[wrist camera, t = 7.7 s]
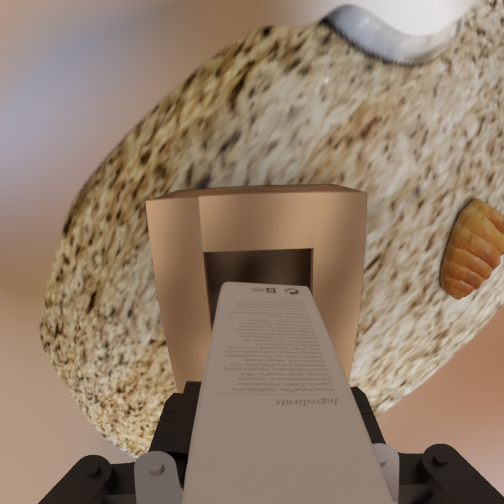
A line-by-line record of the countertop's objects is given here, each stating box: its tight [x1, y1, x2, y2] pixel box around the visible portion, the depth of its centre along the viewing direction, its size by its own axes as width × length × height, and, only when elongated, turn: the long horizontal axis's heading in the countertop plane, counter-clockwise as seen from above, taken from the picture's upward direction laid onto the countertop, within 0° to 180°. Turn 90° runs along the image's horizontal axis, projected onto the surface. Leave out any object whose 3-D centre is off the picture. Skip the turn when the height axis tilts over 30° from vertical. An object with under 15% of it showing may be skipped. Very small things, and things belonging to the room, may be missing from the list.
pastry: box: [440, 199, 504, 300], centre depth 22 cm, size 9×7×4 cm
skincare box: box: [181, 282, 393, 504], centre depth 9 cm, size 6×4×12 cm
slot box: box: [146, 184, 367, 393], centre depth 21 cm, size 12×14×7 cm
